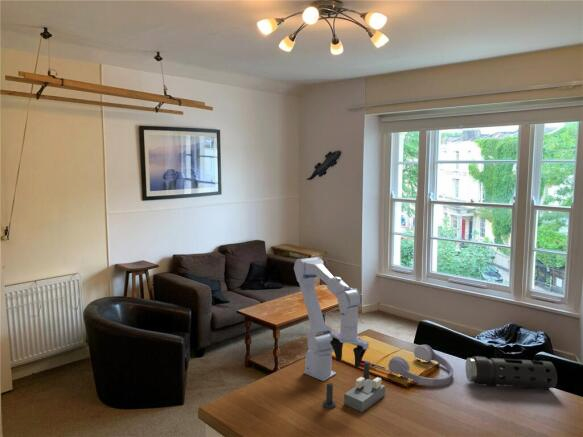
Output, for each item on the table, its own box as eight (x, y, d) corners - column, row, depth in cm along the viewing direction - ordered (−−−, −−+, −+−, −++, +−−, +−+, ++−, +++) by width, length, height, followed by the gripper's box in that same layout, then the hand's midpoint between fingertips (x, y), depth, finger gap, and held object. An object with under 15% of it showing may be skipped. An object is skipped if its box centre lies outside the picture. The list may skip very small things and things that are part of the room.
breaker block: (344, 403, 142) (344, 385, 142) (367, 388, 153) (367, 371, 152) (362, 412, 138) (362, 393, 137) (384, 395, 148) (385, 377, 147)
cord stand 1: (320, 405, 141) (321, 385, 140) (328, 400, 144) (328, 380, 143) (330, 410, 139) (331, 389, 138) (337, 405, 142) (338, 384, 141)
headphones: (384, 372, 165) (432, 396, 150) (386, 355, 164) (434, 378, 149) (417, 356, 180) (463, 377, 165) (419, 340, 178) (466, 359, 164)
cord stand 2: (358, 381, 157) (358, 363, 157) (364, 377, 160) (365, 359, 160) (367, 385, 155) (368, 366, 154) (373, 381, 158) (374, 362, 157)
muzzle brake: (556, 396, 149) (558, 367, 148) (471, 391, 152) (473, 362, 151) (543, 383, 159) (545, 356, 157) (463, 378, 162) (465, 351, 160)
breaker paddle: (355, 386, 145) (355, 379, 145) (360, 383, 148) (360, 376, 147) (359, 388, 144) (359, 381, 144) (364, 385, 147) (364, 378, 146)
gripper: (324, 322, 149) (324, 360, 150) (360, 333, 139) (359, 374, 141) (336, 317, 154) (336, 354, 156) (372, 327, 145) (371, 366, 146)
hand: (348, 363), depth 149 cm, fingers open, 7 cm apart
